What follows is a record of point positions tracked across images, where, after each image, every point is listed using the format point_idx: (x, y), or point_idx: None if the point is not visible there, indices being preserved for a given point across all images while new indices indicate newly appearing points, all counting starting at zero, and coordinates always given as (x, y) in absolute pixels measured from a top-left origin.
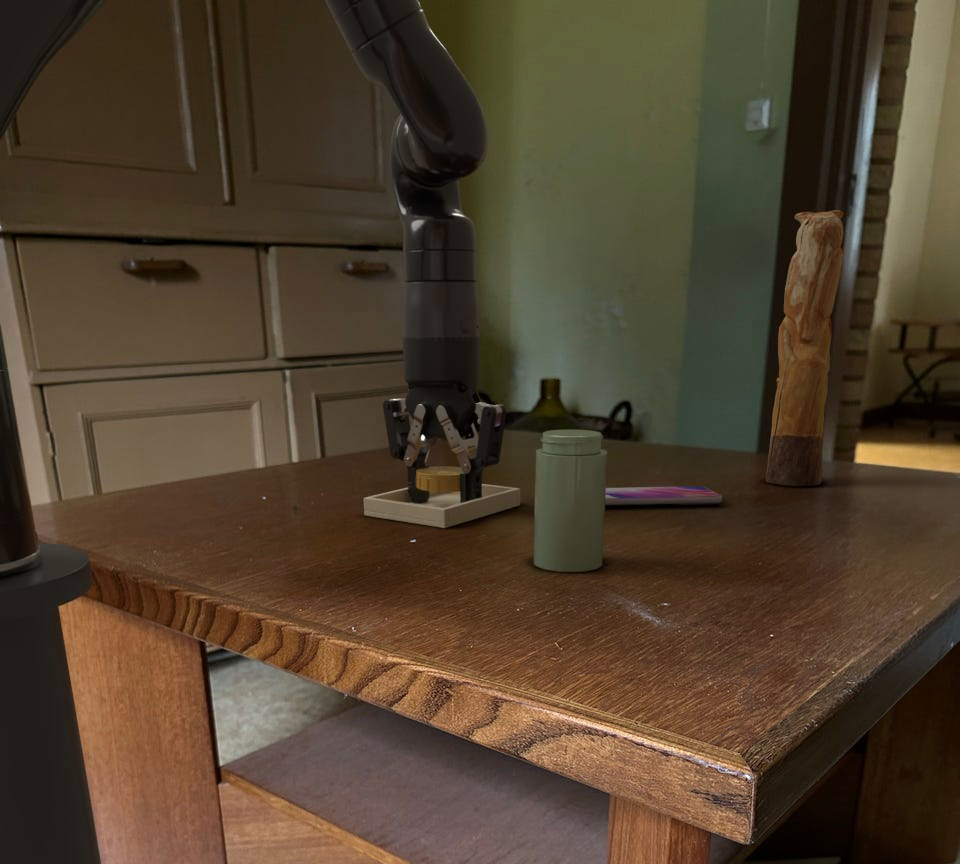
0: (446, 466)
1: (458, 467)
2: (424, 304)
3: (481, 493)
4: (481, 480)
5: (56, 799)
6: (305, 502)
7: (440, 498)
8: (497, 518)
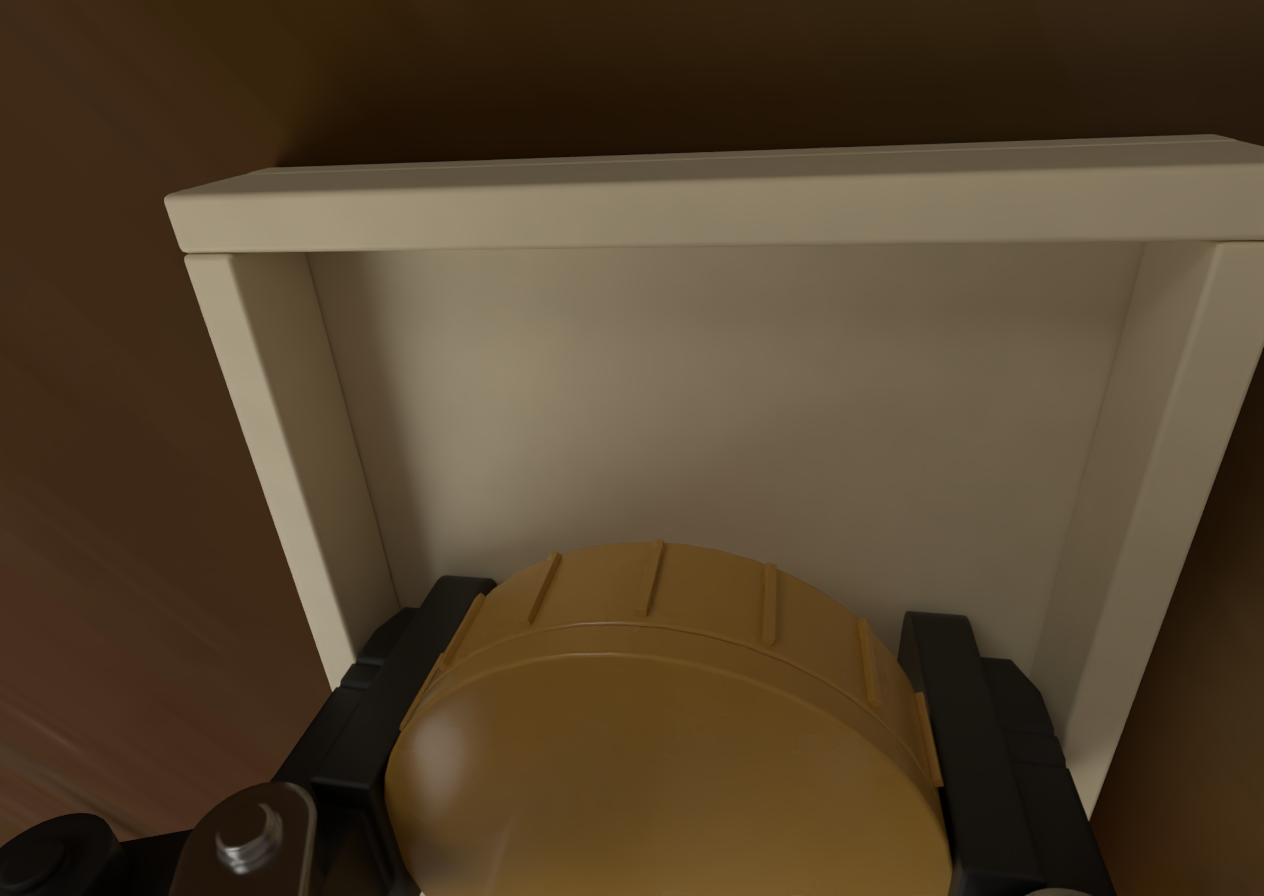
0: (469, 684)
1: (618, 682)
2: None
3: (1049, 726)
4: (1093, 839)
5: None
6: (22, 736)
7: (492, 467)
8: (1188, 655)
